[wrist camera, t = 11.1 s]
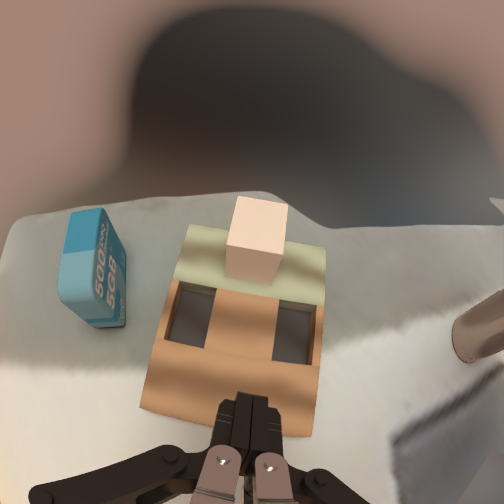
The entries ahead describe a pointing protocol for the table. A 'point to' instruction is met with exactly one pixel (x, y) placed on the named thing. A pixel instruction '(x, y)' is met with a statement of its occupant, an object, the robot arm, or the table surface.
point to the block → (256, 240)
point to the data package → (93, 269)
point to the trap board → (238, 335)
